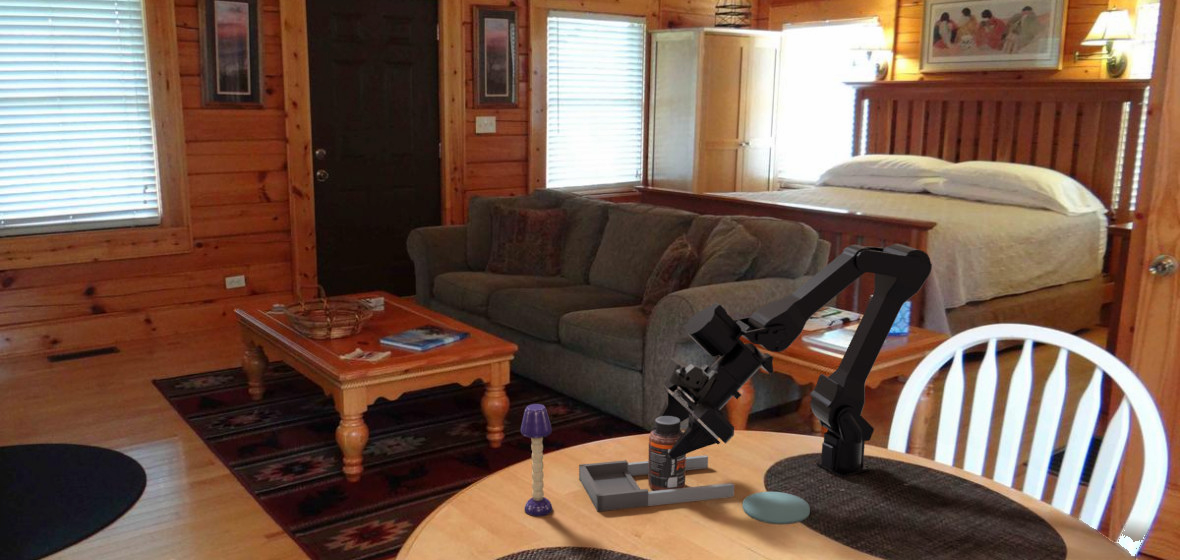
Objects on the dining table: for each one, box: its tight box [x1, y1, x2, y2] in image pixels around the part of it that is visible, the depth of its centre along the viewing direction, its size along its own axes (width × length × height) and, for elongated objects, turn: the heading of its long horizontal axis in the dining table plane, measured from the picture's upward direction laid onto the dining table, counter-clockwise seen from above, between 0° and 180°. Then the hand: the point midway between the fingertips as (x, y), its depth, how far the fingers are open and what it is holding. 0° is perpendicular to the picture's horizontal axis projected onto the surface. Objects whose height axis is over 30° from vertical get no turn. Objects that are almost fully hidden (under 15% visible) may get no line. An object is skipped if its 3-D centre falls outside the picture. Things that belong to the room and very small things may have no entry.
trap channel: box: [578, 454, 735, 513], centre depth 152 cm, size 22×12×2 cm, turn 103°
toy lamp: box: [520, 403, 553, 517], centre depth 143 cm, size 5×5×17 cm
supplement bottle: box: [647, 416, 687, 491], centre depth 152 cm, size 6×6×11 cm
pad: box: [742, 491, 811, 525], centre depth 145 cm, size 10×10×1 cm
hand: (661, 445), depth 151 cm, fingers open, 9 cm apart
